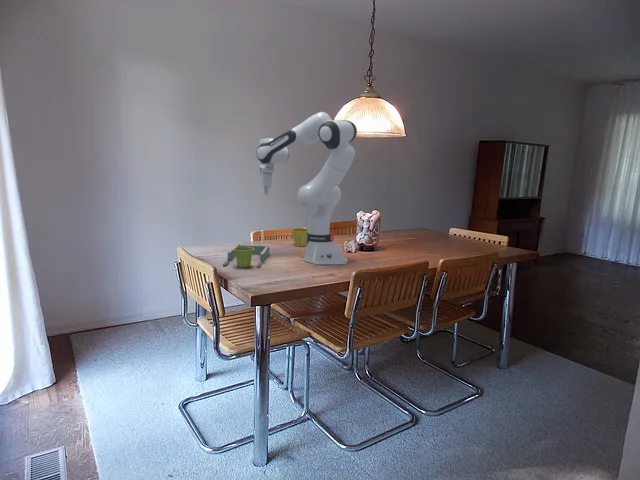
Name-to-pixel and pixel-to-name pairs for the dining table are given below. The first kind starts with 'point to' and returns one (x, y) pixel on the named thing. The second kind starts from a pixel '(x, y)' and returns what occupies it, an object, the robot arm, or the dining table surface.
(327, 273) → the dining table surface
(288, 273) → the dining table surface
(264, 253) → the green u-shaped frame
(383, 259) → the dining table surface
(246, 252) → the plant pot
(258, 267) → the strips
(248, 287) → the dining table surface
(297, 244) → the plant pot
